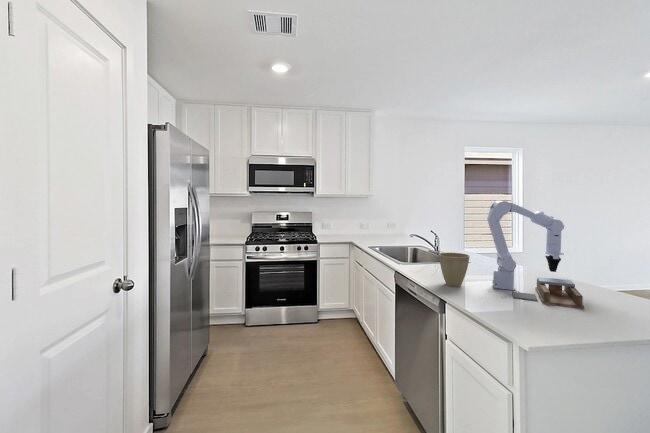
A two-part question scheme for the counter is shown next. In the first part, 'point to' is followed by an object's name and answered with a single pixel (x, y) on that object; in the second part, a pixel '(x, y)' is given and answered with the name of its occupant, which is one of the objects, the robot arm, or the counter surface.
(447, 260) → the plant pot
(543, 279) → the lid
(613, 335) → the counter surface
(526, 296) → the mat
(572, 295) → the brown tray
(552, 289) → the block
